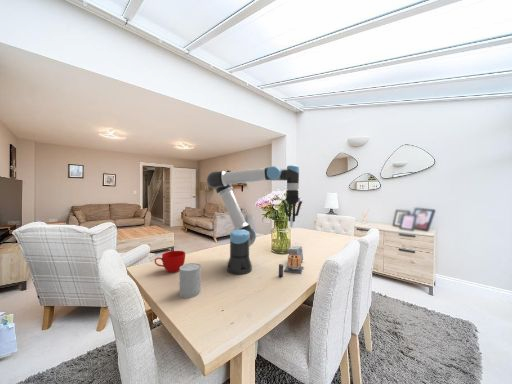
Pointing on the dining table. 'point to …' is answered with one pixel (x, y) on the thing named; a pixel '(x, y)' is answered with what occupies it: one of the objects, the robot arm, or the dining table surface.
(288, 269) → the hub
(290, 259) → the collar
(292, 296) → the dining table surface
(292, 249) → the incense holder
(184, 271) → the grey cylinder
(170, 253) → the ceramic cup
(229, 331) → the dining table surface
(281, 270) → the stand rod
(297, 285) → the dining table surface
